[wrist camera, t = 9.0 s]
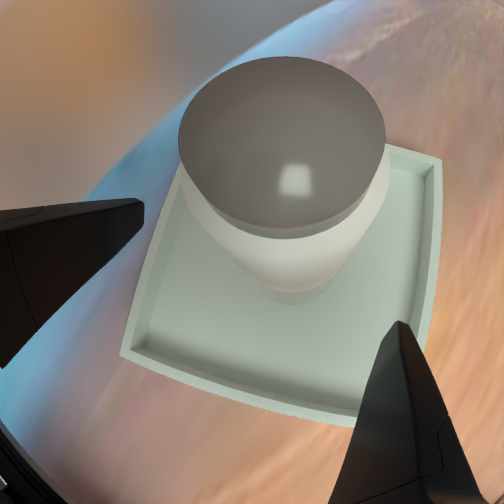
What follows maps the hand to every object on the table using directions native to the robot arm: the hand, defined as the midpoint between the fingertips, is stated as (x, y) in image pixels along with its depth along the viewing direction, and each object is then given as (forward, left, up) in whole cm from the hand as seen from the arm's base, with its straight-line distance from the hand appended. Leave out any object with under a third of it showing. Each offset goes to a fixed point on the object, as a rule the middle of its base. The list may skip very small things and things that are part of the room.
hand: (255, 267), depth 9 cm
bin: (+2, 0, -9) cm, 9 cm away
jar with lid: (+2, -1, -8) cm, 8 cm away
